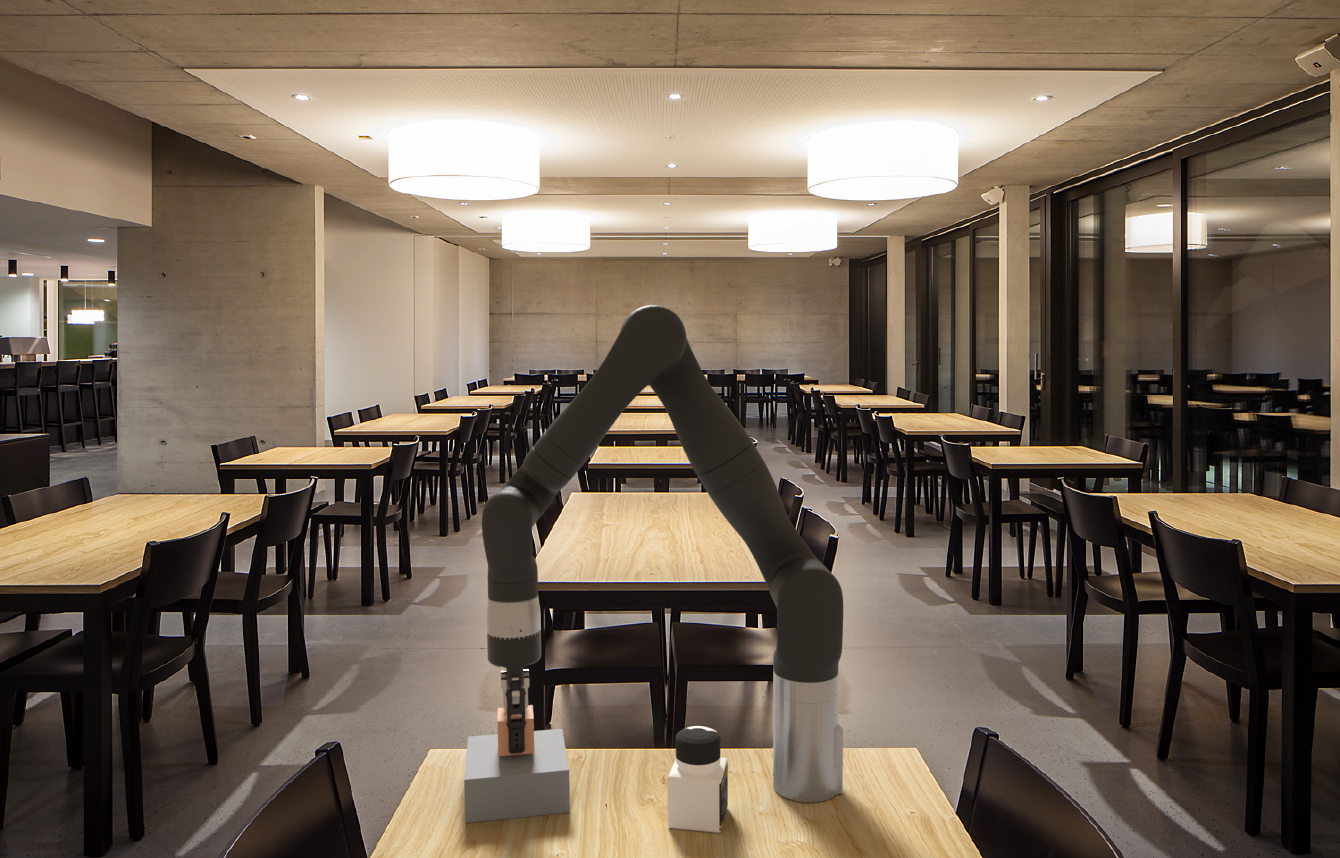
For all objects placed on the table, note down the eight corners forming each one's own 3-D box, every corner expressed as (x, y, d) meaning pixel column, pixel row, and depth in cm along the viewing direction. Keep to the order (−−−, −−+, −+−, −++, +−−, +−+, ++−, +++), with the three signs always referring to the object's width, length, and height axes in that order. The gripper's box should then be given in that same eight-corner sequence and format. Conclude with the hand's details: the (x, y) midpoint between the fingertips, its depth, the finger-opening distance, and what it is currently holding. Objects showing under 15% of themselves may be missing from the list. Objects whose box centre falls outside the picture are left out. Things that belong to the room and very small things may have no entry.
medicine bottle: (720, 834, 114) (720, 745, 113) (667, 829, 116) (666, 740, 115) (728, 807, 121) (727, 723, 120) (677, 802, 123) (677, 719, 122)
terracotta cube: (533, 738, 128) (532, 705, 128) (534, 753, 123) (533, 718, 123) (498, 741, 127) (497, 708, 127) (498, 756, 122) (497, 721, 122)
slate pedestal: (562, 766, 134) (562, 728, 133) (569, 812, 120) (569, 770, 120) (469, 775, 131) (468, 736, 131) (465, 823, 117) (464, 779, 117)
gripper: (543, 641, 118) (545, 764, 119) (538, 612, 132) (540, 722, 133) (486, 645, 116) (489, 769, 117) (487, 615, 130) (490, 726, 131)
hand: (516, 743), depth 125 cm, fingers closed on terracotta cube, 4 cm apart
